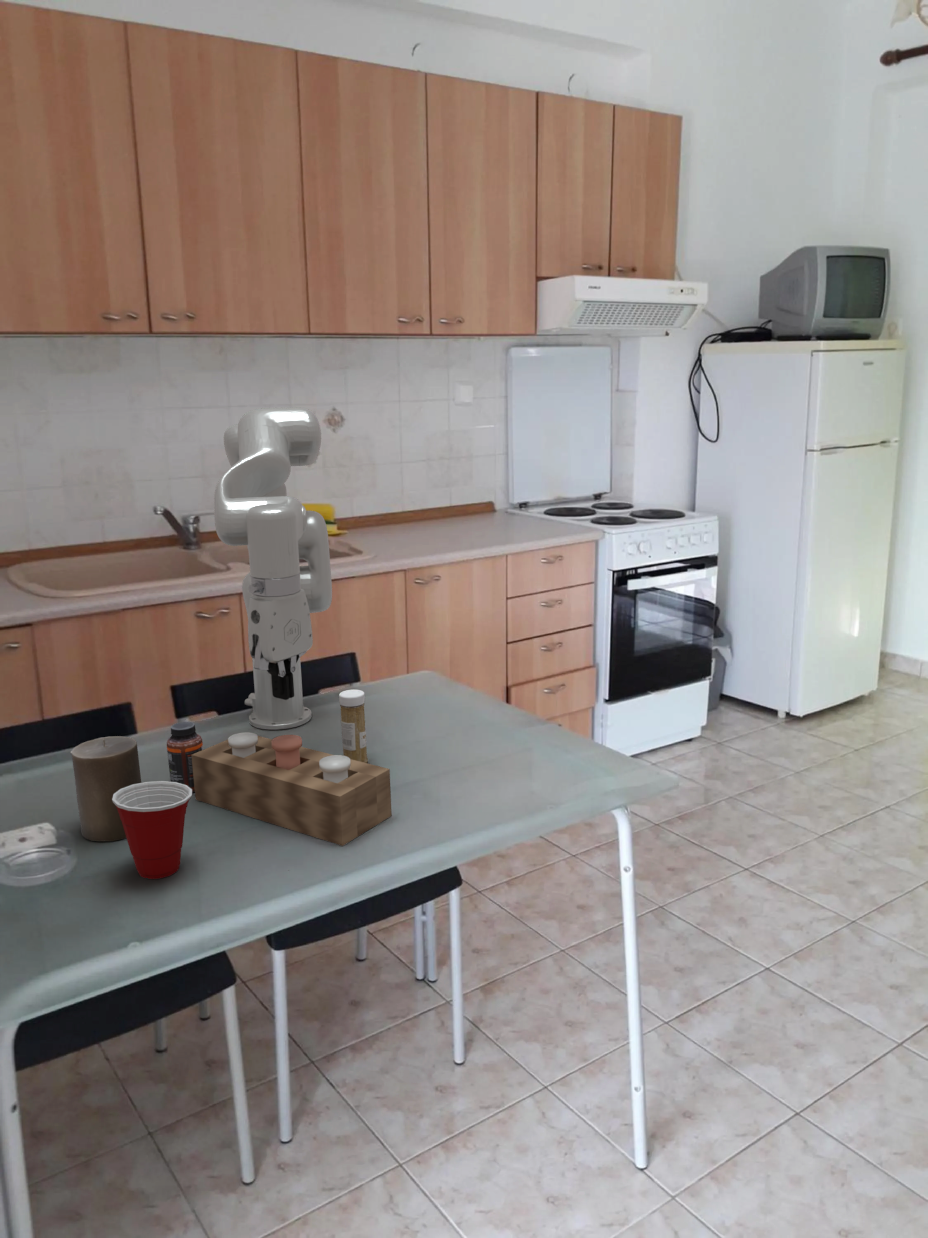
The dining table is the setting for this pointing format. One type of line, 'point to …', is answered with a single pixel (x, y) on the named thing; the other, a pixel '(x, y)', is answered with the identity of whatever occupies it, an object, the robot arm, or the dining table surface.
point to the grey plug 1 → (243, 744)
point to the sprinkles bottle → (353, 725)
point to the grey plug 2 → (335, 768)
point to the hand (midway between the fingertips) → (283, 696)
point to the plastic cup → (154, 824)
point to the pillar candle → (103, 783)
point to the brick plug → (287, 751)
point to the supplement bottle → (183, 752)
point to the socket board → (293, 791)
